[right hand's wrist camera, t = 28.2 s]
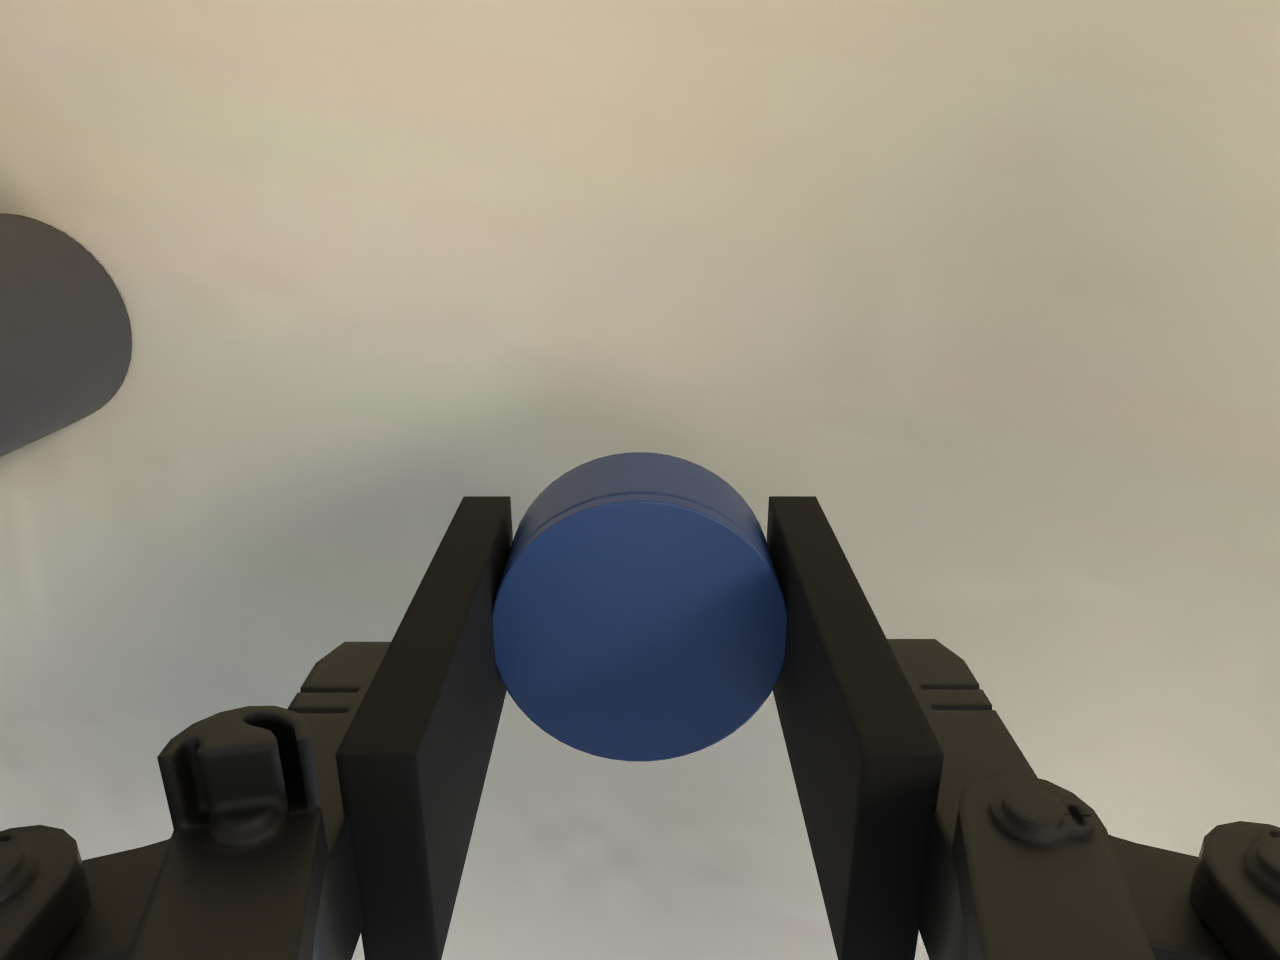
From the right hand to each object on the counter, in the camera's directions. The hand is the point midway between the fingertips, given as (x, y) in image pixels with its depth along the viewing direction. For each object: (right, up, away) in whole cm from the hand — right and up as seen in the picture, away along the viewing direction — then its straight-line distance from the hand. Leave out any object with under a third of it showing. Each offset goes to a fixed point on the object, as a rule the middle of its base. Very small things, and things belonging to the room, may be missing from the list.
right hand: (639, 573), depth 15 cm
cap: (0, -1, -2) cm, 2 cm away
